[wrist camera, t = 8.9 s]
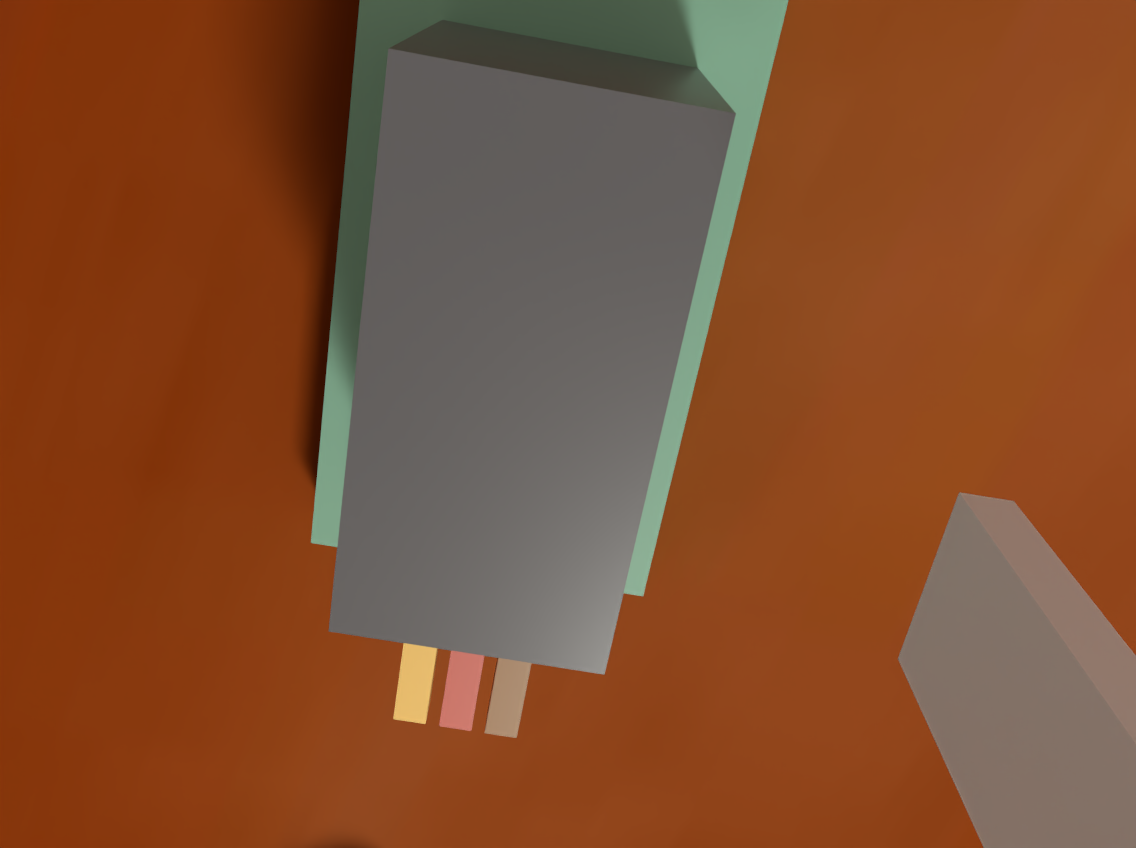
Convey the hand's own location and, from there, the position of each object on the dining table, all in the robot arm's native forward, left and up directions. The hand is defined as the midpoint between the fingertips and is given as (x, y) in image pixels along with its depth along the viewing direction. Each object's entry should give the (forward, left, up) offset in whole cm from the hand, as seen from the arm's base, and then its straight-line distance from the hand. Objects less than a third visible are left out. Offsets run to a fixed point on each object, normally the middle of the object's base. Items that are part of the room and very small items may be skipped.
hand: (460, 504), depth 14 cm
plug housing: (0, -2, -9) cm, 9 cm away
